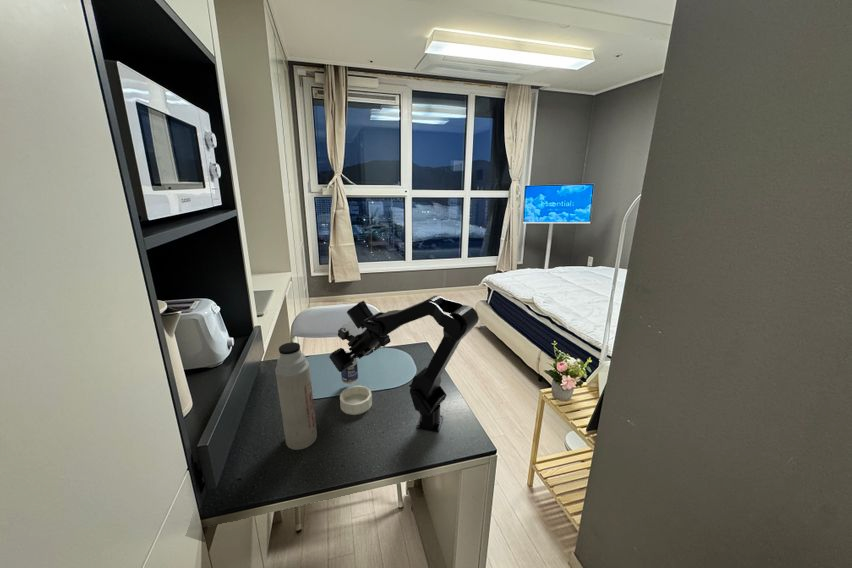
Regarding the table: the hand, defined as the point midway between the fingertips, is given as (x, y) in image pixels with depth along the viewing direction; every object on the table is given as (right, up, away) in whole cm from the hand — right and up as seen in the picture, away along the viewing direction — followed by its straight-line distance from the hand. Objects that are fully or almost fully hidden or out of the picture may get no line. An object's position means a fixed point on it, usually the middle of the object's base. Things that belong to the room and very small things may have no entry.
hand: (345, 361), depth 114 cm
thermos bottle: (-7, -17, -20) cm, 27 cm away
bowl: (+5, -12, -7) cm, 14 cm away
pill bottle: (+1, -7, +1) cm, 7 cm away
